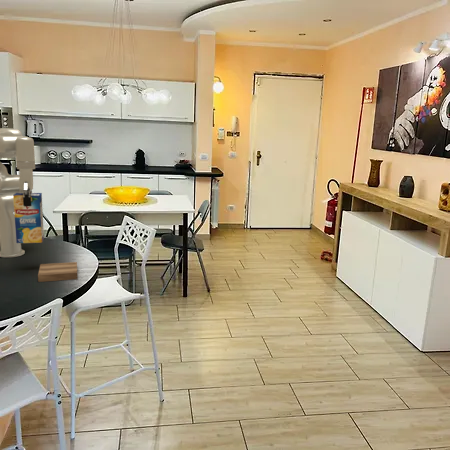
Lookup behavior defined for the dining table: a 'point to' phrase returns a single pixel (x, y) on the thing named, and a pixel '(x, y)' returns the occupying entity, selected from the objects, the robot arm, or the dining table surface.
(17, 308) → the dining table surface
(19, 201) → the beverage box
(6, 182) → the robot arm
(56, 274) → the walnut base
